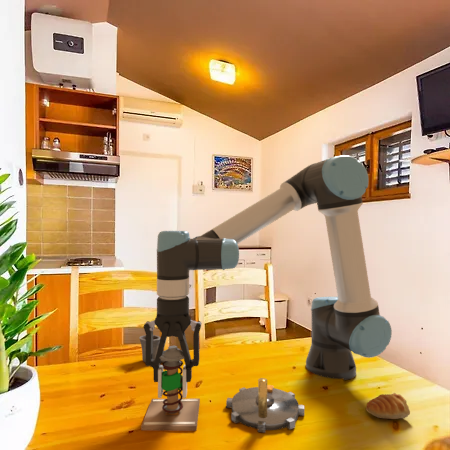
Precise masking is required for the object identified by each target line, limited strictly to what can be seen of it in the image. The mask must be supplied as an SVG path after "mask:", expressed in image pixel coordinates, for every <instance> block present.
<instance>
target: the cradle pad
mask: <svg viewBox="0 0 450 450" xmlns="http://www.w3.org/2000/svg"><path fill="white" fill-rule="evenodd" d="M165 399H166V398H151V400H150V403H149V405H148V408H147V410H146V413H145V416H144V418H143V421H142V423H141V426H140V428H141V431H175V432H176V431H178V432H180V431H182V432H183V431H187V432H188V431H197V429H198V420H199V412H200V411H199V410H200V405H201V404H200V400H201V399H200V398H182V400H181V402H182V404H183V408H182V409H181V410H180V411H178V412H176V413H173V414H171V413H167V412H165V411H164V410H163V409H162V407H163V405H164V404H163V401H164V400H165ZM179 399H180V398H178V400H179ZM165 403H167V401H166V402H165Z"/></svg>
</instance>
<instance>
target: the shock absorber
mask: <svg viewBox="0 0 450 450" xmlns="http://www.w3.org/2000/svg"><path fill="white" fill-rule="evenodd" d="M163 351H164V352H163V353H162V356H160V357H159V358H160V359H161V360H164V361H165V362H163V363H162V364H161V365H163V372H162V389H163V394H162V396H164V397H166V398H164V399H165V400H164V401H163V404H164V405H163V407H162V409H163V410H164V411H165V412H167V413H171V414H173V413H176V412H178V411H180V410H181V409H182V408H183V404H182V402H181V400H182V399H184V398H183V393H181V392H183V367H182V366H184V361H183V360H184V358H185V357H184V356H183V354H182V350H181V348H178V346H177V345H169V346H168V347H167V349H164V350H163ZM179 370H180V372H179ZM179 396H180V397H179ZM178 399H179V400H178ZM166 401H167V403H165V402H166Z"/></svg>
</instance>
